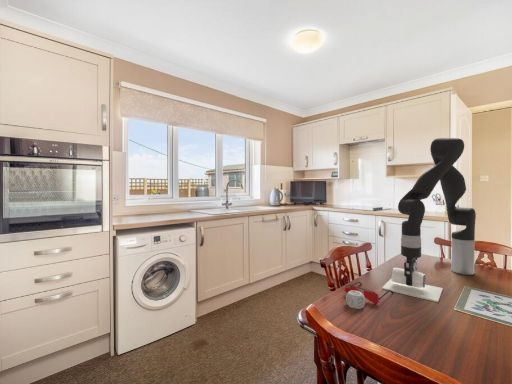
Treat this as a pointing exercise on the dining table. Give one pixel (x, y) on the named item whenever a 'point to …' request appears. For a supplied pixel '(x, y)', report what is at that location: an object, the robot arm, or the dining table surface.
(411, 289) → the mat
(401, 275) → the can
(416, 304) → the dining table surface
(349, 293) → the die
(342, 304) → the dining table surface
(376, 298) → the glasses
